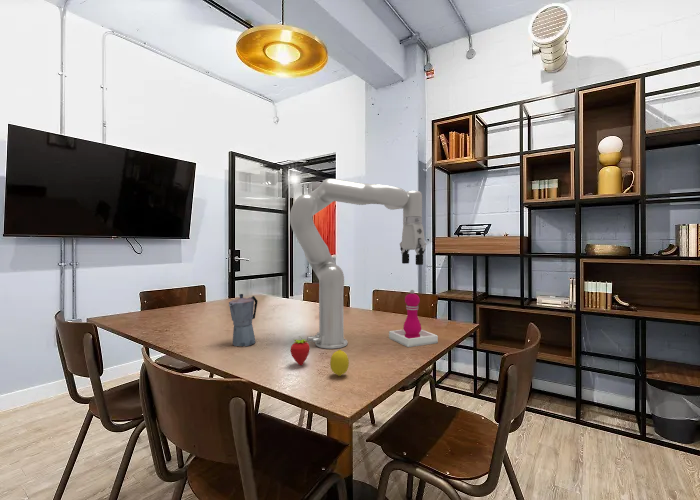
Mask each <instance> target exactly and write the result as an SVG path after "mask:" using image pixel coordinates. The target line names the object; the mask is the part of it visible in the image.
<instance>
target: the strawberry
mask: <svg viewBox="0 0 700 500" xmlns="http://www.w3.org/2000/svg"><path fill="white" fill-rule="evenodd" d="M306 339H307V338H304V339H302V337H300V339H294V342H293V344H292V345H291V346H290V353H291V357H292V358H293V359H294V361H295V362H296V363H297V364H298V365H299V366H300V367H301V366H303V365H304V363H305V361H306V360H307V357H308V356H309V354H310V349H311V347H310V344H309V343H308V340H306Z"/></svg>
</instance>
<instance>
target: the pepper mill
mask: <svg viewBox="0 0 700 500" xmlns="http://www.w3.org/2000/svg"><path fill="white" fill-rule="evenodd" d="M420 300H421V299H420V297H419V295H418V294H417V293H415V290H414V289H410V291H409V293H408V294H406V295H405V297H404V303H405V304H406V305H405V309H406V312H407V313H406V314H407V316H406V319H405V321H404V323H403V329H404V331H405V332H406V333H405V337H406V338H408V339H410V338H417V337H420V334H419V332H420V331H421V330H422V325H421V322H420V320H419V316H418V310H419V304H420V302H421V301H420ZM403 329H402V330H403Z"/></svg>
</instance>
